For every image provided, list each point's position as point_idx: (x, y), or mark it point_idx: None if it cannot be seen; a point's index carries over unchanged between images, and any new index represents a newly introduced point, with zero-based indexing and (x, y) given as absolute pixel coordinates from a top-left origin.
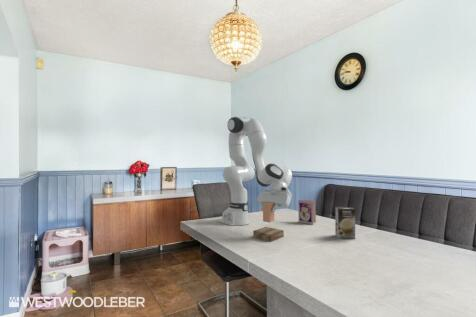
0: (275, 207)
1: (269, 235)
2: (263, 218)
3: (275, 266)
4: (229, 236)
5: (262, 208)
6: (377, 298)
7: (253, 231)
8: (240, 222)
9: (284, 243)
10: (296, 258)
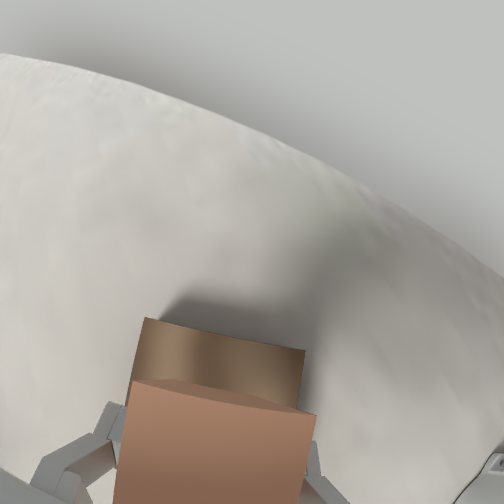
0: (75, 447)
1: (159, 321)
2: (252, 396)
3: (80, 95)
4: (407, 295)
5: (312, 445)
6: None
7: (302, 350)
8: (470, 499)
9: (76, 327)
10: (19, 171)
